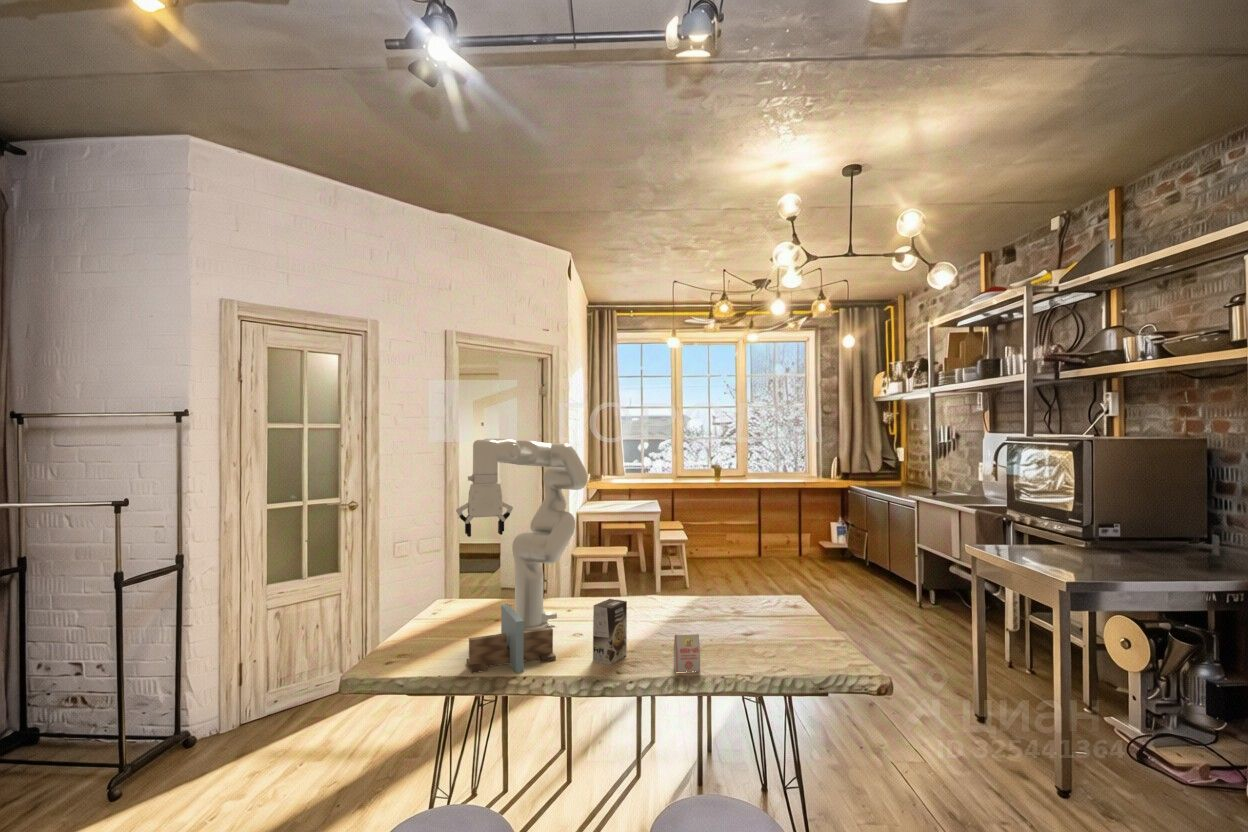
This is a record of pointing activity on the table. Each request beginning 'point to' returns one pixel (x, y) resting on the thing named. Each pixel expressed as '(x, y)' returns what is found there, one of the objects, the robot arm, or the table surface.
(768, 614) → the table surface
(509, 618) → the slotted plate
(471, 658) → the slotted board
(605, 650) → the coffee box
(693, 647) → the white carton
